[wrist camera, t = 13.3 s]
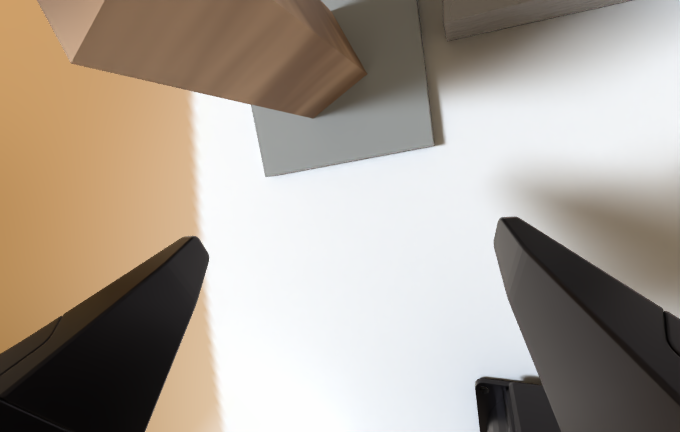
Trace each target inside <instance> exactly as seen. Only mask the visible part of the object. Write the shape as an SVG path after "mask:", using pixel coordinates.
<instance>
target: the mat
mask: <svg viewBox="0 0 680 432" xmlns="http://www.w3.org/2000/svg"><path fill="white" fill-rule="evenodd" d="M321 1H322V2H323V3H324V4H325V5H326V6H327V7H328V8H329V10H330V11H331V12H332V14H333V15H334V17H335V19H336V20H337V22H338V24H339V26H340V27H341V29H342V31H343V33H344V34H345V36H346V38H347V40H348V41H349V43H350V45H351V46H352V48H353V50H354V52H355V53H356V55H357V57H358V59H359V60H360V62H361V64H362V65H363V67H364V69H365V71H366V72H367V75H366V76H364V77H363V78H362V79H361V80H359V81H358V82H357V83H356V84H355V85H353V86H352V87H351V88H350V89H349V90H347V91H346V92H345V93H344V94H342V95H341V96H340V97H339V98H338V99H336V100H335V101H334V102H333V103H331V104H330V105H329V106H328V107H327V108H325V109H324V110H323V111H322V112H320V113H319V114H318V115H317V116H316V117H314V118H313V119H312V118H308V117H304V116H299V115H295V114H290V113H286V112H282V111H277V110H273V109H269V108H264V107H260V106H255V105H251V107H252V112H253V117H254V122H255V127H256V132H257V137H258V142H259V147H260V152H261V157H262V162H263V167H264V172H265V177H270V176H276V175H281V174H286V173H292V172H297V171H302V170H308V169H313V168H318V167H324V166H329V165H334V164H340V163H345V162H350V161H355V160H361V159H366V158H371V157H377V156H382V155H387V154H393V153H398V152H403V151H409V150H414V149H419V148H424V147H430V146H435V145H434V137H433V129H432V120H431V112H430V104H429V95H428V87H427V79H426V70H425V62H424V54H423V45H422V37H421V28H420V20H419V12H418V3H417V0H321Z"/></svg>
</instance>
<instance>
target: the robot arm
mask: <svg viewBox="0 0 680 432" xmlns="http://www.w3.org/2000/svg"><path fill="white" fill-rule="evenodd" d="M494 249H495V253H496V256H497V260H498V264H499V268H500V271H501V275H502V279H503V283H504V287H505V290H506V294H507V297H508V300H509V303H510V305H511V308H512V310H513V313H514V315H515V318H516V320H517V323H518V325H519V328H520V330H521V333H522V335H523V338H524V340H525V343H526V345H527V348H528V350H529V352H530V355H531V357H532V360H533V362H534V365H535V367H536V370H537V372H538V375H539V377H540V380H541V382H542V385H543V386H541V385H533V384H525V383H518V382H508V381H500V380H492V379H485V378H480V379H477V381H476V382H475V390H476V399H477V408H478V417H479V425H480V432H680V319H679V318H677V317H676V316H674V315H673V314H671V313H669V312H667V311H664V312H663V309H662V308H661V307H660V306H658V305H656V304H655V303H653V302H652V301H650V300H649V299H647V298H645V297H644V296H642V295H641V294H639V293H637V292H636V291H634V290H633V289H631V288H629V287H628V286H626V285H625V284H623V283H622V282H620V281H618V280H617V279H615V278H614V277H612V276H610V275H609V274H607V273H606V272H604V271H603V270H601V269H599V268H598V267H596V266H595V265H593V264H591V263H590V262H588V261H587V260H585V259H584V258H582V257H580V256H579V255H577V254H576V253H574V252H572V251H571V250H569V249H568V248H566V247H564V246H563V245H561V244H560V243H558V242H557V241H555V240H553V239H552V238H550V237H549V236H547V235H545V234H544V233H542V232H541V231H539V230H538V229H536V228H534V227H533V226H531V225H530V224H528V223H526V222H525V221H523V220H522V219H520V218H518V217H502V218H500V219H499V220H498V223H497V228H496V233H495V237H494ZM208 262H209V254H208V252H207V251H206V249H205V247H204V246H203V244H202V243H201V241H200V239H199V238H198V237H196V236H187V237H182V238H181V239H179V240H177V241H176V242H174V243H173V244H171V245H170V246H168V247H167V248H165V249H164V250H162V251H160V252H159V253H158V254H156V255H154V256H153V257H151V258H150V259H148V260H147V261H145V262H144V263H142V264H140V265H139V266H137V267H136V268H134V269H133V270H131V271H130V272H128V273H127V274H125V275H123V276H122V277H120V278H119V279H117V280H116V281H114V282H113V283H111V284H110V285H108V286H107V287H105V288H104V289H102V290H100V291H99V292H97V293H96V294H94V295H93V296H91V297H89V298H88V299H87V300H85V301H83V302H82V303H80V304H79V305H77V306H76V307H74V308H73V309H71V310H69V311H68V312H66V313H65V314H64V315H63V316H60V317H59V318H57V319H55V320H54V321H53V322H51V323H49V324H48V325H46V326H45V327H43V328H41V329H40V330H38V331H37V332H35V333H34V334H32V335H30V336H29V337H27V338H26V339H24V340H22V341H21V342H19V343H18V344H16V345H14V346H13V347H11V348H9V349H8V350H6V351H4V352H3V353H1V354H0V432H145V431H146V428H147V426H148V423H149V421H150V418H151V416H152V413H153V411H154V408H155V406H156V403H157V401H158V398H159V396H160V393H161V390H162V388H163V386H164V383H165V381H166V378H167V375H168V373H169V371H170V368H171V366H172V363H173V361H174V358H175V356H176V353H177V351H178V349H179V346H180V343H181V341H182V339H183V336H184V334H185V331H186V329H187V326H188V324H189V321H190V319H191V316H192V314H193V311H194V309H195V306H196V303H197V300H198V297H199V294H200V290H201V287H202V283H203V280H204V276H205V273H206V269H207V266H208ZM481 386H484V387H487V389H482V388H481Z"/></svg>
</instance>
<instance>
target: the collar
mask: <svg viewBox="0 0 680 432" xmlns="http://www.w3.org/2000/svg"><path fill="white" fill-rule="evenodd" d="M627 1H632V0H443V23H444V28H445V33H446V38H447V41H450V40H455V39H459V38H464V37H468V36H473V35H477V34H482V33H486V32H491V31H496V30H500V29H505V28H509V27H514V26H518V25H523V24H527V23H532V22H536V21H541V20H545V19H550V18H555V17H559V16H564V15H568V14H573V13H577V12H582V11H586V10H591V9H595V8H600V7H605V6H609V5H614V4H618V3H623V2H627Z"/></svg>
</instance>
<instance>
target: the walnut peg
mask: <svg viewBox="0 0 680 432" xmlns="http://www.w3.org/2000/svg"><path fill="white" fill-rule="evenodd" d="M37 1H38V3H39V5H40V7H41V9H42V11H43V12H44V14H45V16H46V18H47V20H48V22H49V24H50V26H51V27H52V29H53V31H54V33H55V35H56V37H57V39H58V40H59V42H60V44H61V46H62V48H63V50H64V51H65V53H66V55H67V57H68V59H69V61H70V63H72V64H76V65H80V66H84V67H89V68H93V69H98V70H102V71H106V72H111V73H115V74H120V75H124V76H128V77H133V78H137V79H142V80H146V81H150V82H155V83H159V84H163V85H168V86H172V87H176V88H181V89H185V90H190V91H194V92H198V93H203V94H207V95H212V96H216V97H220V98H225V99H229V100H233V101H238V102H242V103H247V104H251V105H255V106H260V107H264V108H269V109H273V110H277V111H282V112H286V113H290V114H295V115H299V116H304V117H308V118H312V119H313V118H314V117H316V116H317V115H318V114H319V113H320V112H322V111H323V110H324V109H325V108H327V107H328V106H329V105H330V104H331V103H333V102H334V101H335V100H336V99H338V98H339V97H340V96H341V95H342V94H344V93H345V92H346V91H347V90H349V89H350V88H351V87H352V86H353V85H355V84H356V83H357V82H358V81H359V80H361V79H362V78H363V77H364V76H366V75H367V72H366V71H365V69H364V67H363V65H362V64H361V62H360V60H359V59H358V57H357V55H356V53H355V52H354V50H353V48H352V46H351V45H350V43H349V41H348V40H347V38H346V36H345V34H344V33H343V31H342V29H341V27H340V26H339V24H338V22H337V20H336V19H335V17H334V15H333V14H332V12H331V11H330V10H329V8H328V7H327V6H326V5H325V4H324V3H323V2H322V1H321V0H37Z"/></svg>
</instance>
